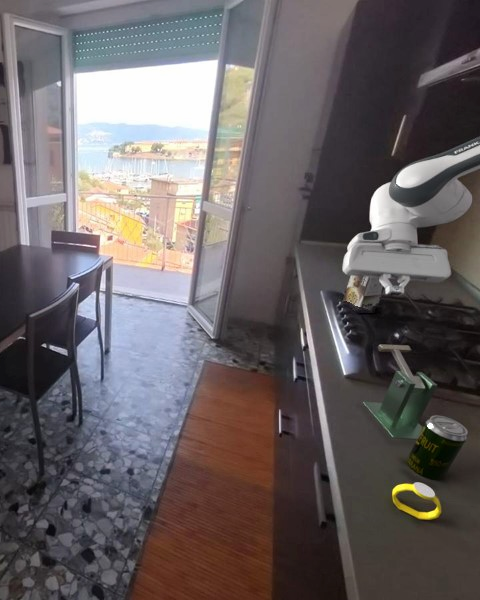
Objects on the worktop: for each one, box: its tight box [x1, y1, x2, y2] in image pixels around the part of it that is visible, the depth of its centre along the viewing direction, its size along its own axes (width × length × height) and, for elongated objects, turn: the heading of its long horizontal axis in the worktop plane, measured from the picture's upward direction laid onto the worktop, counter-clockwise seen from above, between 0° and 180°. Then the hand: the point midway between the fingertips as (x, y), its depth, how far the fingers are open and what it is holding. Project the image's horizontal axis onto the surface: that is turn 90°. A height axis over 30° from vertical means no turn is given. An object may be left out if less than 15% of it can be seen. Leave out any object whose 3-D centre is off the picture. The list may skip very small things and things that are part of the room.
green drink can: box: [406, 414, 469, 482], centre depth 66 cm, size 5×5×12 cm
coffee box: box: [342, 275, 385, 307], centre depth 127 cm, size 9×6×16 cm
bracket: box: [362, 370, 438, 440], centre depth 77 cm, size 11×8×13 cm
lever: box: [376, 343, 426, 393], centre depth 78 cm, size 11×6×2 cm, turn 173°
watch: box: [391, 481, 442, 521], centre depth 61 cm, size 6×3×6 cm, turn 51°
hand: (394, 294), depth 84 cm, fingers closed
